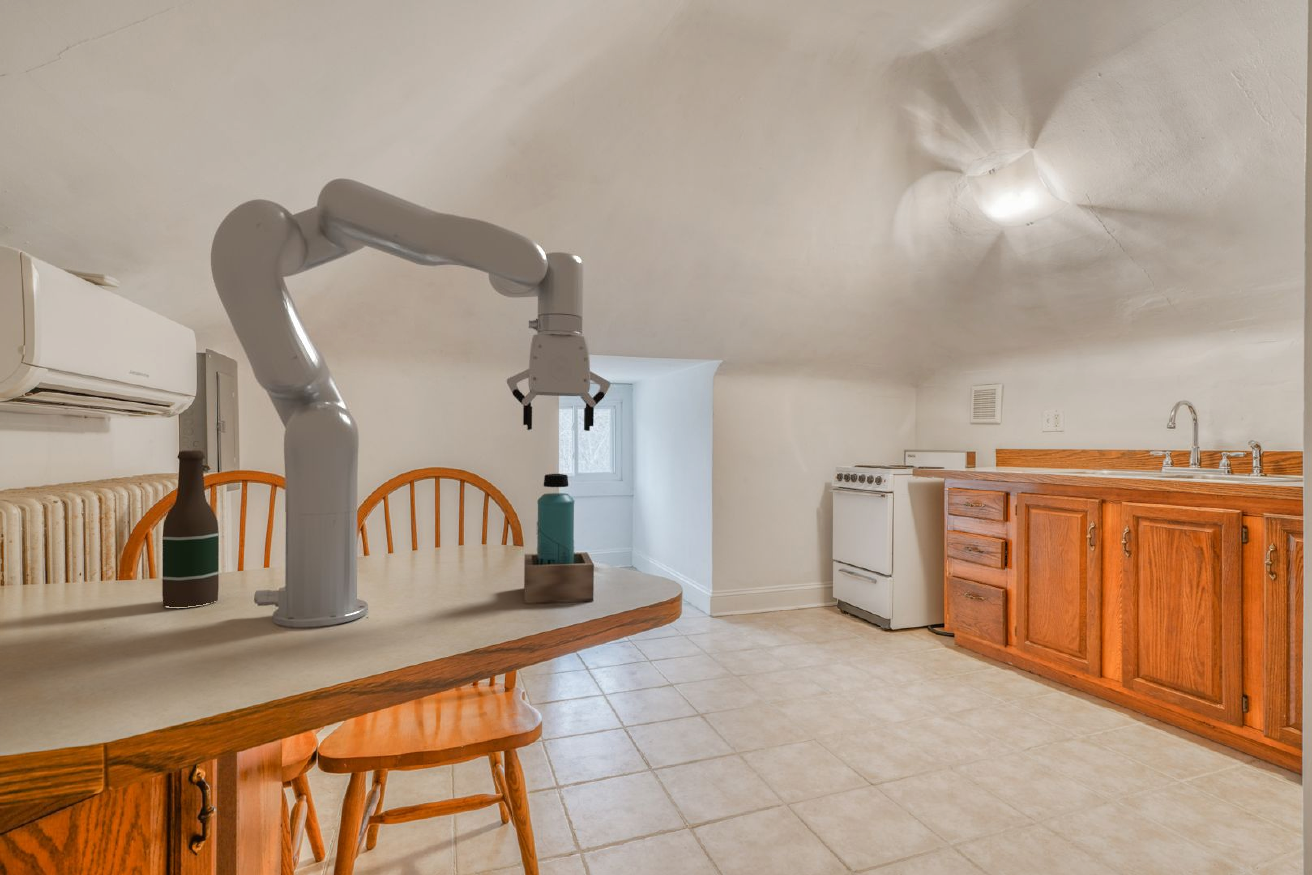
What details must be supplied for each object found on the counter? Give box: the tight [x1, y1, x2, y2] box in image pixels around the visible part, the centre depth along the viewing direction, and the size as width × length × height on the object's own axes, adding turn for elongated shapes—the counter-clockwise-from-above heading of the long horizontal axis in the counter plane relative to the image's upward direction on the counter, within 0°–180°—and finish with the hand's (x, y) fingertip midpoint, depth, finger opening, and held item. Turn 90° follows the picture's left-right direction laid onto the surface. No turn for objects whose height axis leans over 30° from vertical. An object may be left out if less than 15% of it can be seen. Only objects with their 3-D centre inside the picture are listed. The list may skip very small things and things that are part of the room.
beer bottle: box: [161, 450, 220, 607], centre depth 106 cm, size 8×8×24 cm
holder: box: [523, 551, 595, 605], centre depth 115 cm, size 11×11×6 cm
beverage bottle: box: [535, 473, 576, 565], centre depth 115 cm, size 6×7×20 cm
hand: (558, 430), depth 115 cm, fingers open, 9 cm apart
